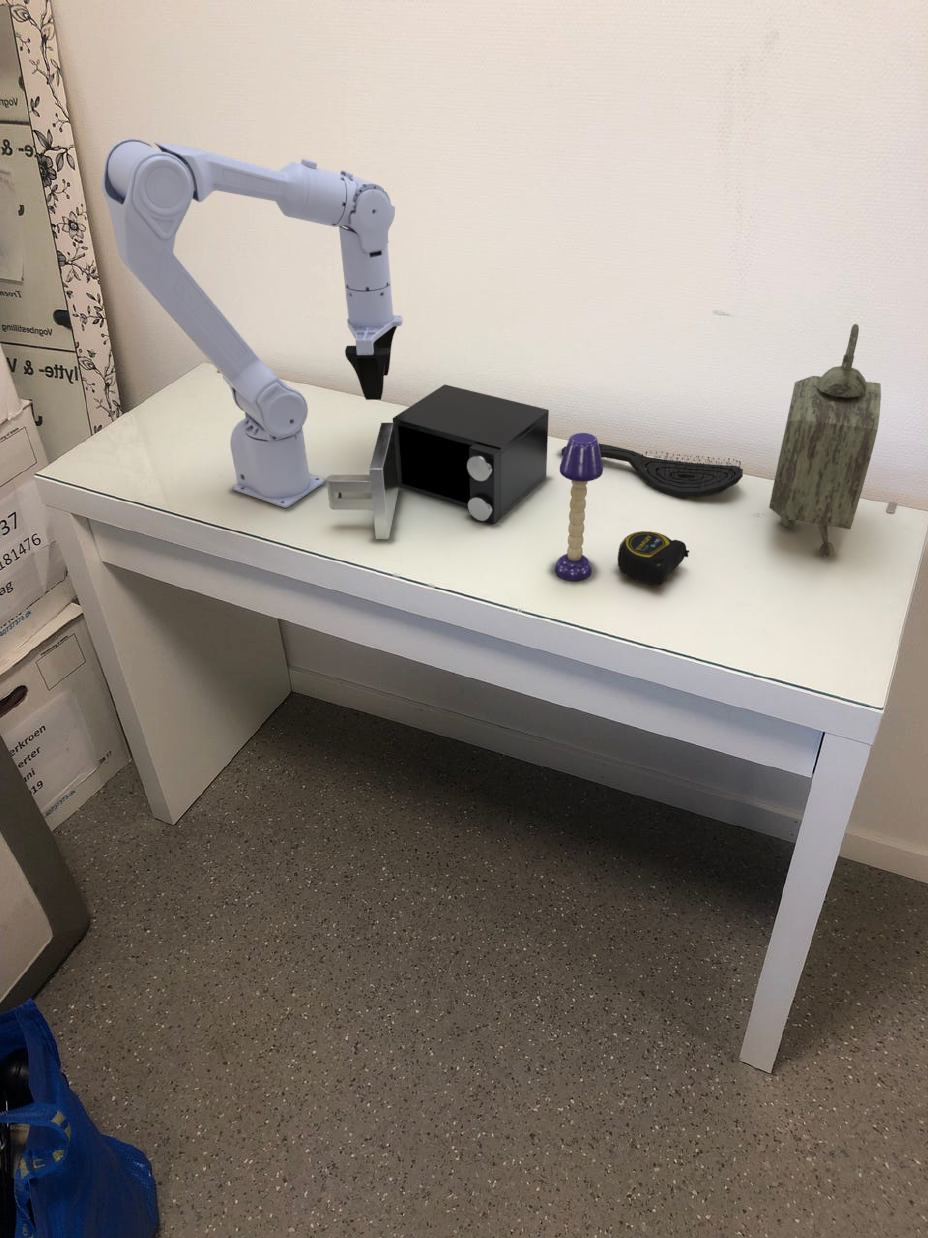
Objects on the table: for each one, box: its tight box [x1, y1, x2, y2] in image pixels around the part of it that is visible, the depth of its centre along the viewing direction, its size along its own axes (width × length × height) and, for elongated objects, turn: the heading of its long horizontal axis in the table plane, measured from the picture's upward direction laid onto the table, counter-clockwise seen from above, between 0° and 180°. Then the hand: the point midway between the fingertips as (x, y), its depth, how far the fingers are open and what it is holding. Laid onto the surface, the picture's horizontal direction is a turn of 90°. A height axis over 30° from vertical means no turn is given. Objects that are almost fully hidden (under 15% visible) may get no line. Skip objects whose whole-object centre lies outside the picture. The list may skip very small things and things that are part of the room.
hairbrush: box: [561, 442, 744, 498], centre depth 123 cm, size 8×4×25 cm
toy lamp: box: [554, 432, 604, 581], centre depth 101 cm, size 5×5×17 cm
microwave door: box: [325, 422, 400, 540], centre depth 114 cm, size 7×12×10 cm, turn 177°
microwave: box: [392, 383, 550, 525], centre depth 119 cm, size 14×16×10 cm
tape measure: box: [617, 530, 690, 586], centre depth 105 cm, size 7×7×4 cm
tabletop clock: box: [768, 323, 882, 557], centre depth 104 cm, size 14×9×25 cm, turn 160°
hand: (377, 386), depth 123 cm, fingers open, 7 cm apart
